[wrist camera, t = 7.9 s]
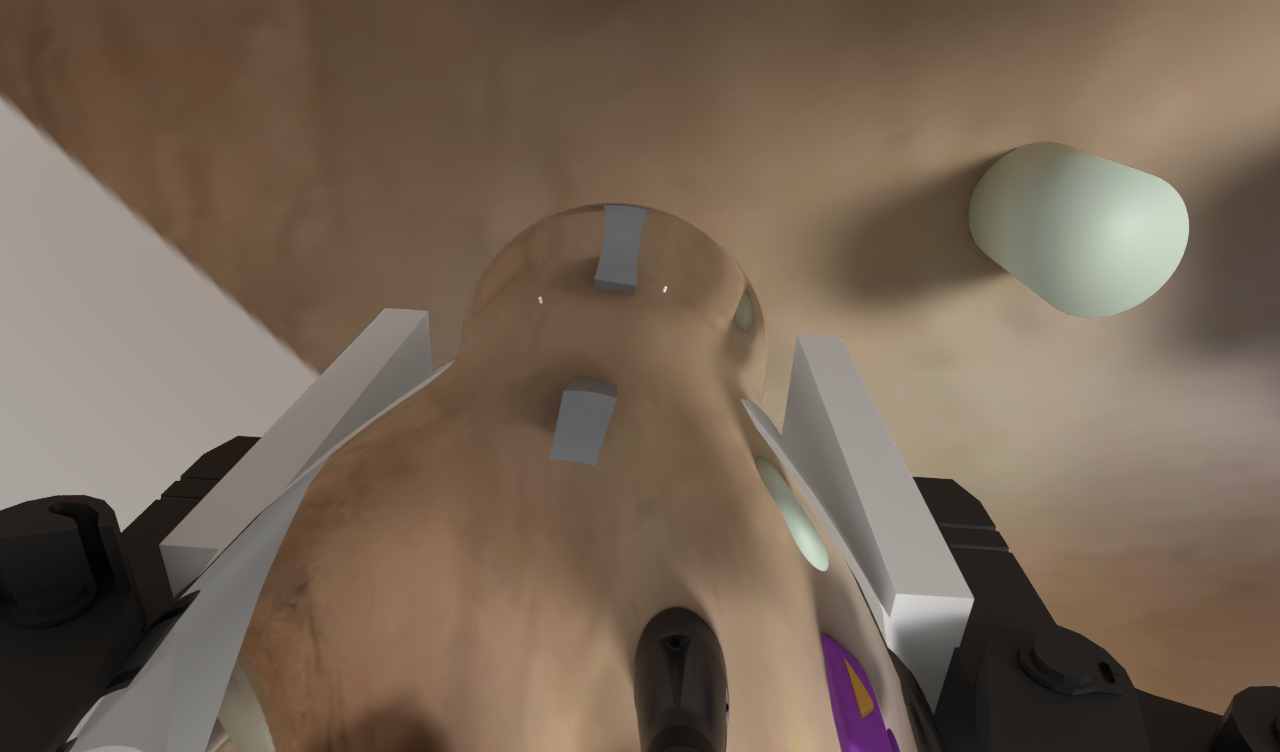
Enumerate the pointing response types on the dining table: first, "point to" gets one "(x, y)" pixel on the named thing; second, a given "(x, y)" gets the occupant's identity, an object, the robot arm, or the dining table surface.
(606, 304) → the beer glass
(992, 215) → the sage cylinder
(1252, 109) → the dining table surface
